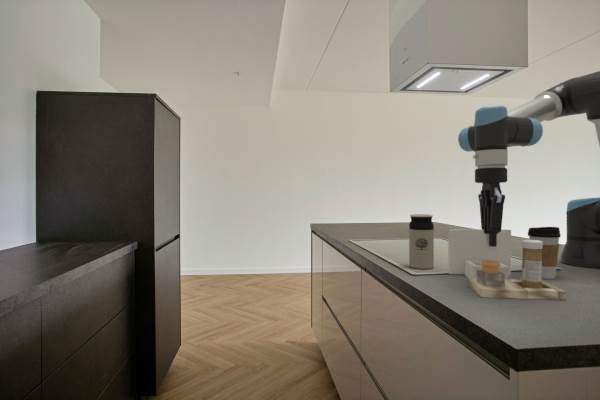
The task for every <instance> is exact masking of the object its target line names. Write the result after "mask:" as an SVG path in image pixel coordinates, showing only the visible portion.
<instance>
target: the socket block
mask: <svg viewBox="0 0 600 400" xmlns="http://www.w3.org/2000/svg"><path fill="white" fill-rule="evenodd" d="M467 286H468V287H469V288H470V289H471V290H472V291H473V292H475V293H476V295H478V296H479V297H480V298H486V299H487V298H491V299H517V300H518V299H522V300H523V299H525V300H551V301H554V300H556V301H558V300H559V301H566V297H567V296H566V295H567V294H566V291H565V290H563V289H561V288H559V287H557V286H555V285H553V284H550V283H549V282H546V281H544V280H543V279H542V282H541V288H523V287H522V279H517V278H516V279H515V278H514V279H513V278H509V279H505V275H504V274H503V273H501V272H499V274H485V273H483V272H482V270H477V279H476V278H468V277H467Z"/></svg>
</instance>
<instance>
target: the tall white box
mask: <svg viewBox="0 0 600 400" xmlns="http://www.w3.org/2000/svg"><path fill="white" fill-rule="evenodd" d="M447 245H448V251H447V252H448V272H447V273H448V274H449V275H464V276H465V277H466V278H467V279H468V278H476V279H477V270H482V265H481V261H482V260H493V261H499V262H500V267H499V272H501V273H503V274H504V275H505V279H510V276H512V229H501V232H499V233H498V259H485V234H484V230H482V228H479V229H476V228H475V229H472V228H471V229H470V228H468V229H467V228H466V229H465V228H464V229H463V228H460V229H459V228H458V229H457V228H456V229H454V228H453V229H452V228H449V229H448V244H447Z"/></svg>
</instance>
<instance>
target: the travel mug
mask: <svg viewBox="0 0 600 400" xmlns="http://www.w3.org/2000/svg"><path fill="white" fill-rule="evenodd" d="M409 216H410V223H409V224H408V227H409V228H408V229H409V231H408V232H409V233H408V234H409V235H408V237H409V238H408V239H409V241H408V247H409V249H408V251H409V254H408V255H409V257H408V260H409V261H408V265H409V267H410V268H413V269H416V270H417V269H418V270H430V269H433V268H434V267H435V266H434V263H435V262H434V260H435V259H434V257H435V255H434V253H435V251H434V250H435V249H434V245H435V244H434V241H435V239H434V235H435V234H434V228H435V227H434V223H433V221H432V220H433V216H434V215H433V214H428V213H427V214H424V213H423V214H422V213H421V214H416V213H414V214H410V215H409Z"/></svg>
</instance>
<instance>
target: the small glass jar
mask: <svg viewBox="0 0 600 400" xmlns="http://www.w3.org/2000/svg"><path fill="white" fill-rule="evenodd" d="M481 265H482V272H483V273H485V274H499V267H500V262H499V261H493V260H482V261H481Z"/></svg>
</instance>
